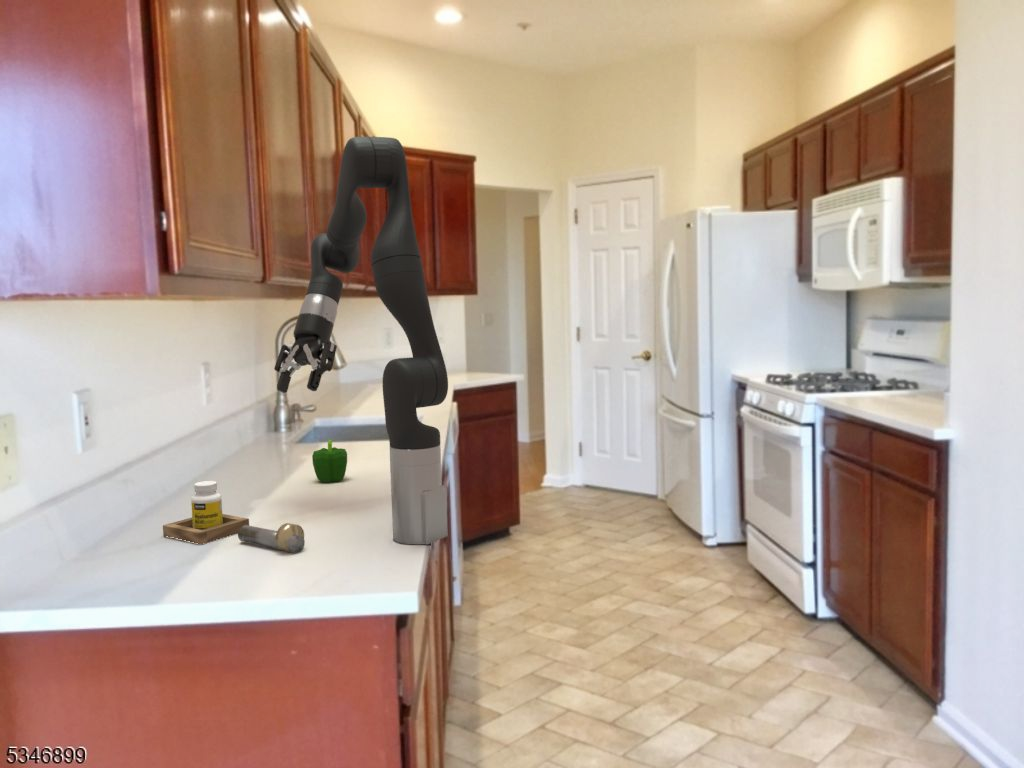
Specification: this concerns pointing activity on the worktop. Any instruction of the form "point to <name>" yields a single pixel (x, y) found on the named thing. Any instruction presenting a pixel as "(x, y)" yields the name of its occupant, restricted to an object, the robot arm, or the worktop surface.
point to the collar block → (188, 533)
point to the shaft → (275, 537)
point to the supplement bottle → (206, 505)
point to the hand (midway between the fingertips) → (296, 390)
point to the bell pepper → (330, 463)
